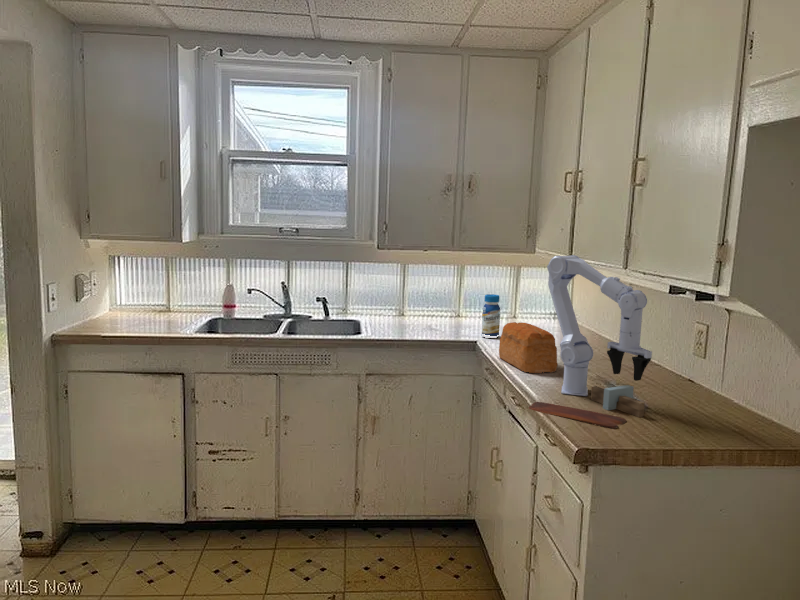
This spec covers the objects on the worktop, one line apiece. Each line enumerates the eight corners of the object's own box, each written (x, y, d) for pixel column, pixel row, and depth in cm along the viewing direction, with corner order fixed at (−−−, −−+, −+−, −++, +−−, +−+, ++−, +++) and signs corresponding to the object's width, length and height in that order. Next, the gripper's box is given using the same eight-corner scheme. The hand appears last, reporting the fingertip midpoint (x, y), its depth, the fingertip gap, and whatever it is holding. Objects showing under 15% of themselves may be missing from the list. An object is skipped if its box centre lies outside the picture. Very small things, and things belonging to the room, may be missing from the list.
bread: (527, 356, 238) (529, 319, 236) (560, 373, 212) (562, 332, 210) (495, 357, 235) (497, 320, 233) (524, 374, 209) (526, 332, 207)
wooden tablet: (627, 422, 162) (628, 416, 162) (616, 432, 154) (616, 426, 154) (538, 402, 178) (538, 397, 178) (523, 410, 170) (523, 404, 170)
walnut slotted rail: (590, 399, 180) (591, 386, 180) (595, 398, 181) (596, 386, 181) (638, 417, 165) (639, 403, 164) (643, 416, 165) (644, 402, 165)
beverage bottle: (499, 336, 277) (501, 294, 275) (499, 339, 269) (501, 296, 266) (481, 335, 279) (483, 293, 276) (480, 338, 271) (482, 295, 268)
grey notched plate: (608, 410, 170) (609, 390, 169) (602, 408, 172) (604, 388, 171) (632, 406, 175) (633, 386, 174) (626, 404, 176) (628, 384, 176)
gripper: (660, 335, 167) (656, 381, 169) (620, 326, 180) (617, 369, 182) (643, 337, 164) (639, 384, 166) (603, 328, 176) (600, 372, 178)
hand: (626, 376), depth 173 cm, fingers open, 7 cm apart
